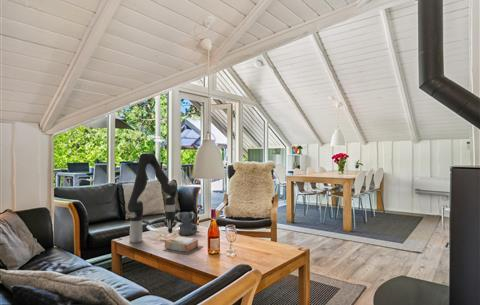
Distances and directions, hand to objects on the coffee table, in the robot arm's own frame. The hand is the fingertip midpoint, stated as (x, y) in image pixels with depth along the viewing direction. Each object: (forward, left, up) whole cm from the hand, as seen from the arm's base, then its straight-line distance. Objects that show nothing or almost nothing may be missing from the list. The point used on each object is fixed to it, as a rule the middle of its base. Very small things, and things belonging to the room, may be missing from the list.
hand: (170, 232), depth 234 cm
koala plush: (-13, +37, -11) cm, 40 cm away
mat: (+12, 0, -11) cm, 16 cm away
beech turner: (-10, +10, -11) cm, 17 cm away
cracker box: (0, 0, -7) cm, 7 cm away
